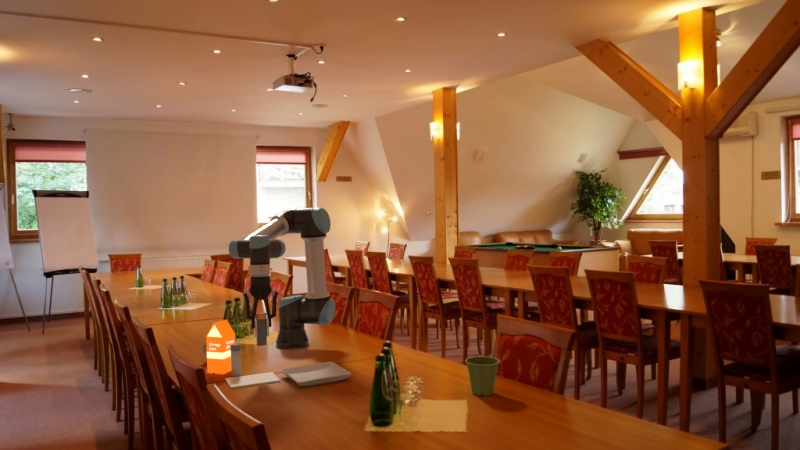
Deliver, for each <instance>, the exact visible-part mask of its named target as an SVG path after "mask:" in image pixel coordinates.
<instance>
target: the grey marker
mask: <svg viewBox="0 0 800 450" xmlns="http://www.w3.org/2000/svg"><path fill="white" fill-rule="evenodd" d="M230 351H231V371H230V372H231V375H230V376H231V377H239V376H243V375H242V374H243V373H242V352H241V351H242V344H241V343H235V344H231V345H230Z"/></svg>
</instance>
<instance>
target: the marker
mask: <svg viewBox="0 0 800 450" xmlns="http://www.w3.org/2000/svg"><path fill="white" fill-rule="evenodd" d="M255 319H256V320H257V337H256V346H261V347H263V346H267V345H268V338H267V337H268V336H267V329H266V319H267V314H266V312H256V317H255Z"/></svg>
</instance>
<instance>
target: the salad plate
mask: <svg viewBox="0 0 800 450" xmlns="http://www.w3.org/2000/svg"><path fill="white" fill-rule="evenodd" d="M280 371H281V372H282V374H283V375H284V376H286V377H288V378H289V379H291V380H292V382H294V383H295V384H297V385H298V386H300V387H310V386H312V387H313V386H318V385H324V384H330V383H335V382H339V381H343V380H346V379H348V378H349V377H350V376H351V375H352V372H351V371H349V370H347V369H345V368H344V367H342V366H340V365H338V364H337V363H335V362H334V361H326V362H318V363H312V364H305V365H300V366H294V367H288V368H284V369H281V370H280Z"/></svg>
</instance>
